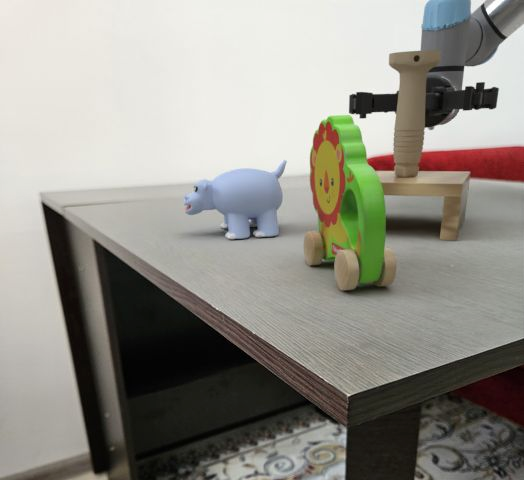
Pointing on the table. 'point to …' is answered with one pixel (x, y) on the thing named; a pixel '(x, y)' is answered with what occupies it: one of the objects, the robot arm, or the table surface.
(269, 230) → the hippopotamus toy
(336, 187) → the toy lion
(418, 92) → the handle
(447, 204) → the shelf stand
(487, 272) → the table surface
